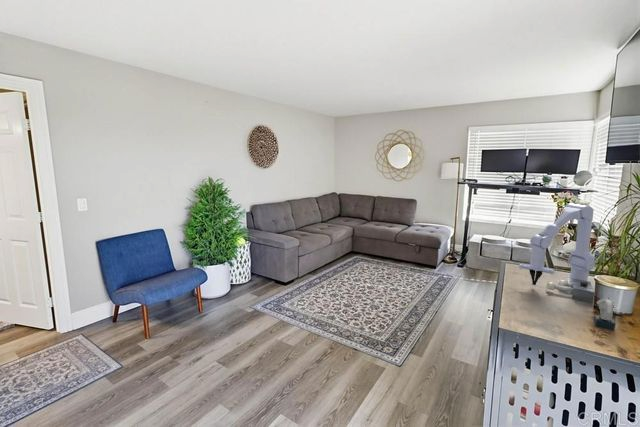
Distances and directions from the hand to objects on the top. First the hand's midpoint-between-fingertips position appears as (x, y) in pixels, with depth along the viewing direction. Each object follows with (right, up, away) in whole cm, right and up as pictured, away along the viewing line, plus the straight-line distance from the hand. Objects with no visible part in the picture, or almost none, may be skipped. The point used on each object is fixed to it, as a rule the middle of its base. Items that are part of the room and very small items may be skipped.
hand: (533, 284), depth 159 cm
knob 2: (+17, -2, -3) cm, 18 cm away
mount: (+18, -4, -7) cm, 19 cm away
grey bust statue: (+3, -9, -35) cm, 36 cm away
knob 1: (+9, -2, -6) cm, 11 cm away
